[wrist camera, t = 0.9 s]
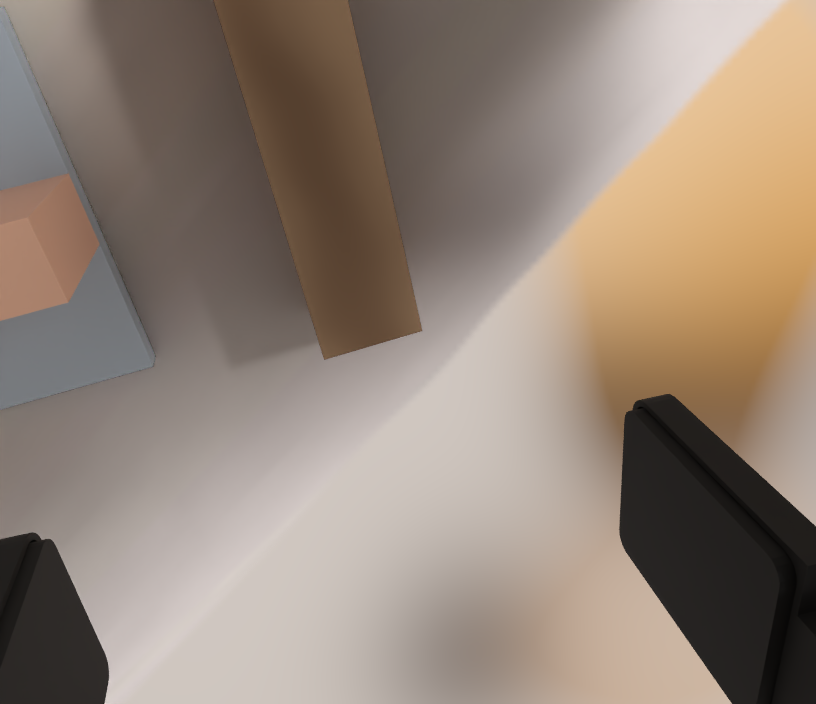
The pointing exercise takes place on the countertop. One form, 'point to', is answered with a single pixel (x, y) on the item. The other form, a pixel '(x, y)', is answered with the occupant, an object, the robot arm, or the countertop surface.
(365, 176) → the walnut bar
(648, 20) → the countertop surface
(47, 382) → the fulcrum stand
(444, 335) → the countertop surface
